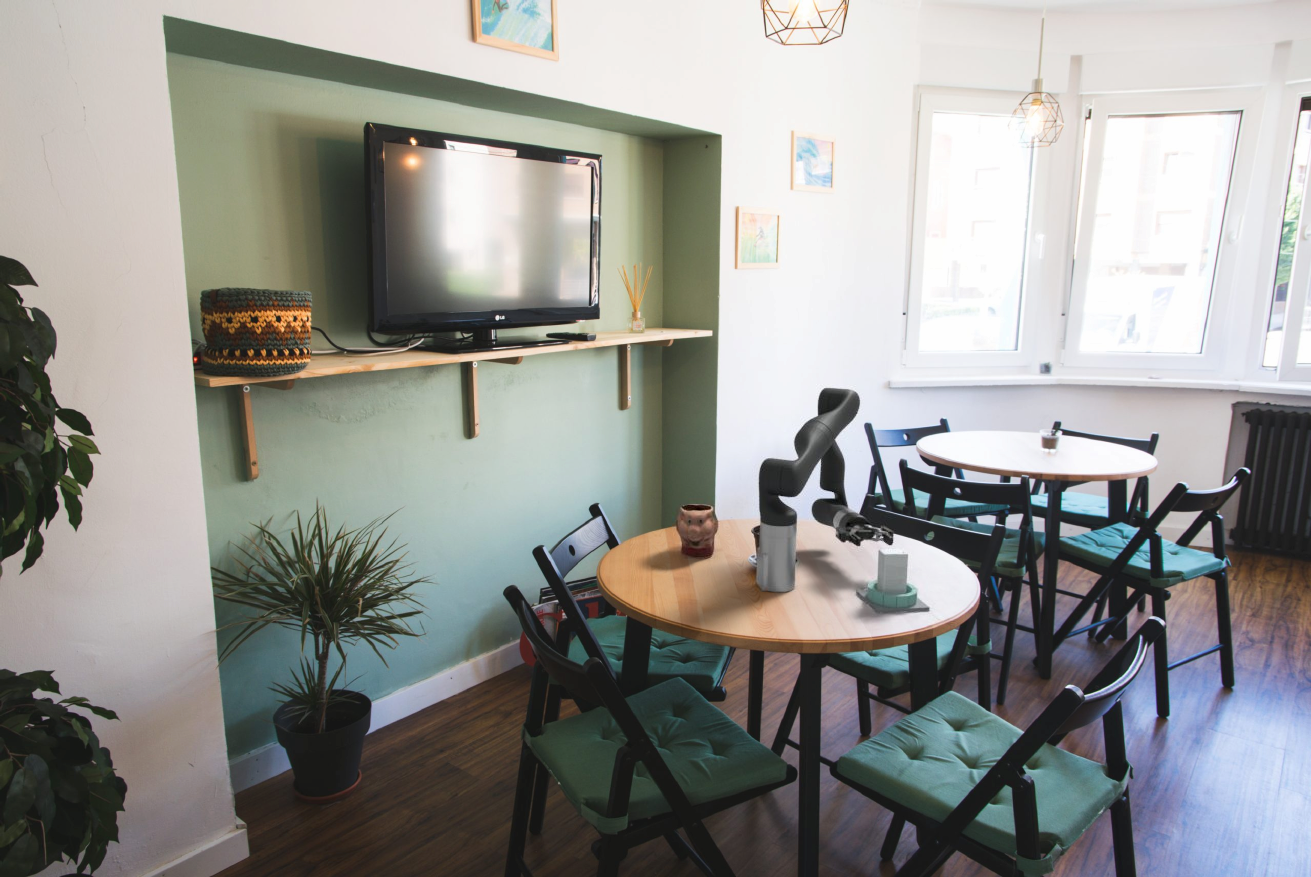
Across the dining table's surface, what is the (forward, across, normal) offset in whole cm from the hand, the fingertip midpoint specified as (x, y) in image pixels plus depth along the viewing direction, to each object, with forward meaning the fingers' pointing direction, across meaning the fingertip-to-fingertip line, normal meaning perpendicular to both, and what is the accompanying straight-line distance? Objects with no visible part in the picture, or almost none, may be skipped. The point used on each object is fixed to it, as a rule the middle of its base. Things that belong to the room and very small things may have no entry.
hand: (875, 542), depth 205 cm
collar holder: (+11, 0, +12) cm, 16 cm away
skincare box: (+11, 0, +11) cm, 15 cm away
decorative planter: (-33, -40, +12) cm, 53 cm away
